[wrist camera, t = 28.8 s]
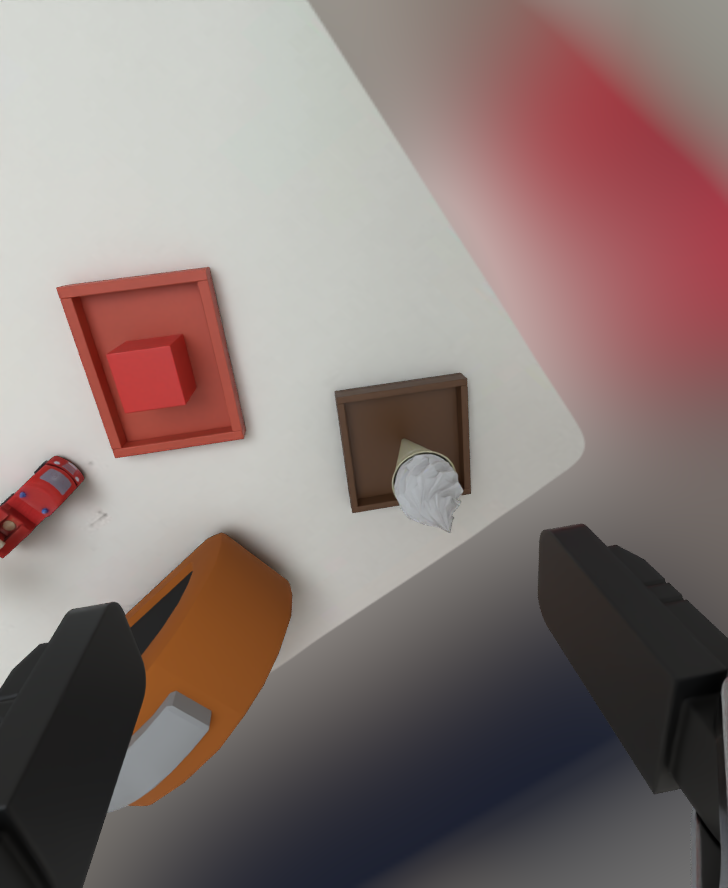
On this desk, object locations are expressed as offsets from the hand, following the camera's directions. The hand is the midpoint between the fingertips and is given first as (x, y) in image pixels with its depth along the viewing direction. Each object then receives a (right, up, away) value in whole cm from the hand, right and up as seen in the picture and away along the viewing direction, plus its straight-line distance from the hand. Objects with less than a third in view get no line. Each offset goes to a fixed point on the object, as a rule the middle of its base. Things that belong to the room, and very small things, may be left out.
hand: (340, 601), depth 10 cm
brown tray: (+4, +3, +36) cm, 37 cm away
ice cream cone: (+4, +3, +36) cm, 37 cm away
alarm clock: (-18, -14, +41) cm, 47 cm away
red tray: (-16, +10, +31) cm, 36 cm away
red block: (-16, +9, +31) cm, 36 cm away
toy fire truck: (-29, -3, +35) cm, 46 cm away
